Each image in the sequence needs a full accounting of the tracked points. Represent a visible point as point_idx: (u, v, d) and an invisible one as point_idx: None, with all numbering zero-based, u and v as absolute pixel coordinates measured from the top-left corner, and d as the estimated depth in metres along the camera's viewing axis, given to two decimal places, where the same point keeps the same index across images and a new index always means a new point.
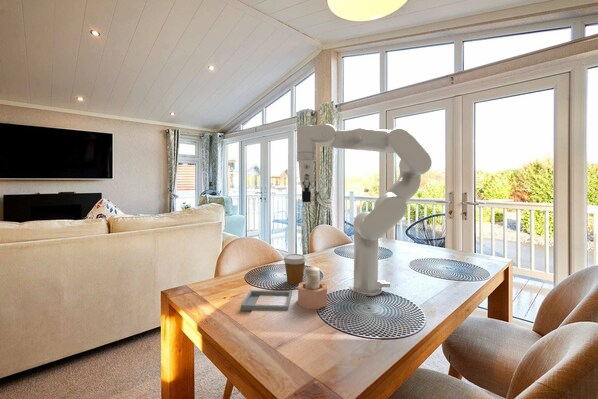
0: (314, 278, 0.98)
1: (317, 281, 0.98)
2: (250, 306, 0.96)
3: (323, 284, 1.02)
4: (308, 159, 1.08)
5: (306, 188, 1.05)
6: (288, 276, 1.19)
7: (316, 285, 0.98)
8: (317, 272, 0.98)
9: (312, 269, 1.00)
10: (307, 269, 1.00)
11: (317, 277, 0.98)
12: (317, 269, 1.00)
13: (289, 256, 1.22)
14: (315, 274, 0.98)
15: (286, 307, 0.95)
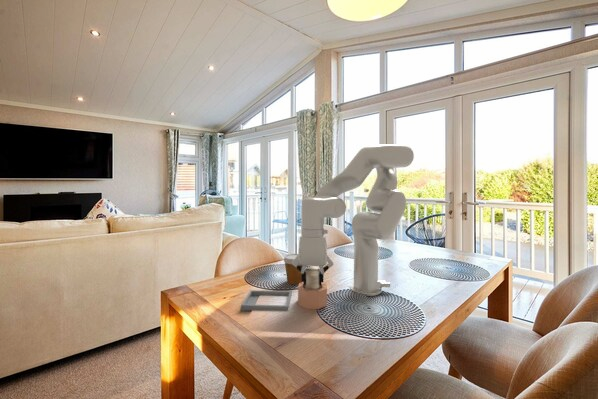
0: (314, 278, 0.98)
1: (317, 281, 0.98)
2: (250, 306, 0.96)
3: (323, 284, 1.02)
4: None
5: None
6: (288, 276, 1.19)
7: (316, 285, 0.98)
8: (317, 272, 0.98)
9: (312, 269, 1.00)
10: (307, 269, 1.00)
11: (317, 277, 0.98)
12: (317, 269, 1.00)
13: (289, 256, 1.22)
14: (315, 274, 0.98)
15: (286, 307, 0.95)
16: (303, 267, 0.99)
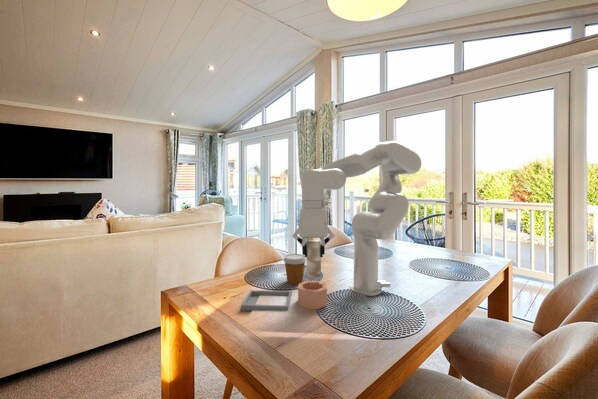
0: (315, 250, 0.97)
1: (318, 253, 0.98)
2: (250, 306, 0.96)
3: (323, 284, 1.02)
4: (323, 207, 0.99)
5: None
6: (288, 276, 1.19)
7: (317, 257, 0.98)
8: (318, 244, 0.98)
9: (313, 241, 0.99)
10: (308, 242, 0.99)
11: (318, 249, 0.98)
12: (318, 241, 0.99)
13: (289, 256, 1.22)
14: (316, 246, 0.97)
15: (286, 307, 0.95)
16: (304, 239, 0.98)
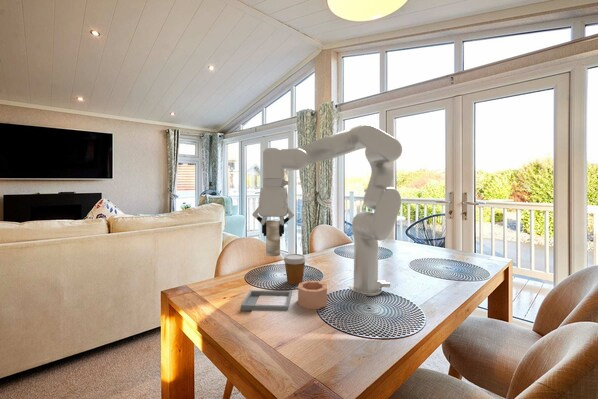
0: (274, 229, 0.97)
1: (277, 232, 0.98)
2: (250, 306, 0.96)
3: (323, 284, 1.02)
4: None
5: None
6: (288, 276, 1.19)
7: (276, 236, 0.98)
8: (277, 223, 0.98)
9: (273, 221, 0.99)
10: (268, 220, 0.99)
11: (277, 228, 0.98)
12: (278, 221, 0.99)
13: (289, 256, 1.22)
14: (275, 225, 0.97)
15: (286, 307, 0.95)
16: (263, 218, 0.98)
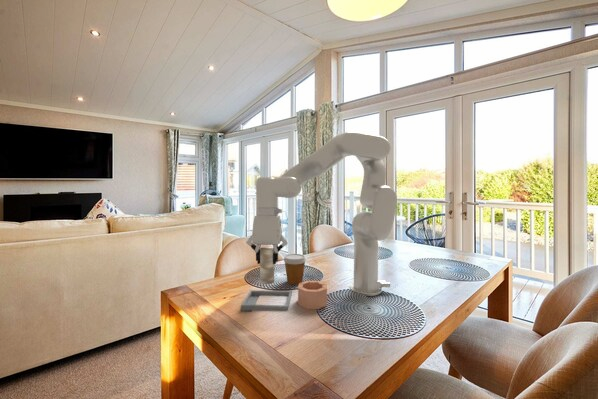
0: (267, 257, 0.98)
1: (271, 260, 0.99)
2: (250, 306, 0.96)
3: (323, 284, 1.02)
4: (277, 214, 1.00)
5: (280, 249, 1.00)
6: (288, 276, 1.19)
7: (269, 264, 0.99)
8: (271, 251, 0.99)
9: (266, 248, 1.00)
10: (261, 248, 1.00)
11: (271, 256, 0.99)
12: (271, 248, 1.00)
13: (289, 256, 1.22)
14: (268, 253, 0.98)
15: (286, 307, 0.95)
16: (257, 246, 0.99)
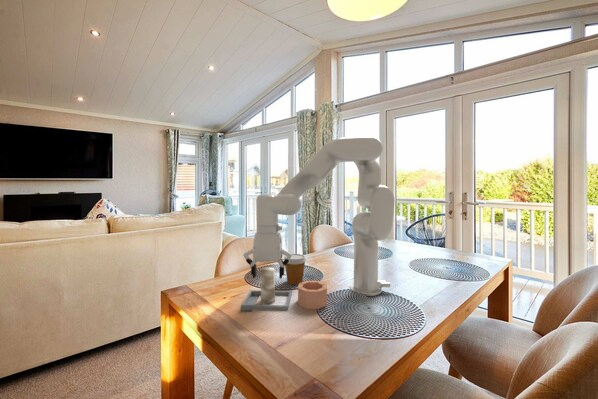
0: (268, 278, 0.99)
1: (271, 281, 1.00)
2: (250, 306, 0.96)
3: (323, 284, 1.02)
4: (277, 231, 1.01)
5: (286, 263, 1.00)
6: (288, 276, 1.19)
7: (270, 285, 0.99)
8: (271, 272, 0.99)
9: (267, 269, 1.01)
10: (262, 269, 1.01)
11: (271, 277, 0.99)
12: (272, 269, 1.01)
13: None
14: (269, 274, 0.99)
15: (286, 307, 0.95)
16: None
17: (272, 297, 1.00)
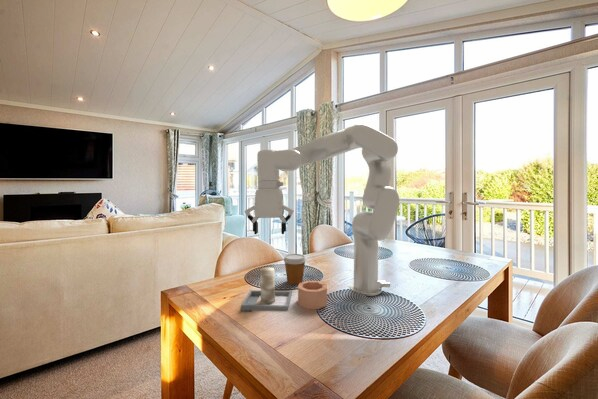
0: (268, 278, 0.99)
1: (271, 281, 1.00)
2: (250, 306, 0.96)
3: (323, 284, 1.02)
4: None
5: (288, 219, 1.00)
6: (288, 276, 1.19)
7: (270, 285, 0.99)
8: (271, 272, 0.99)
9: (267, 269, 1.01)
10: (262, 269, 1.01)
11: (271, 277, 1.00)
12: (272, 269, 1.01)
13: (289, 256, 1.22)
14: (269, 274, 0.99)
15: (286, 307, 0.95)
16: None
17: (272, 297, 1.00)
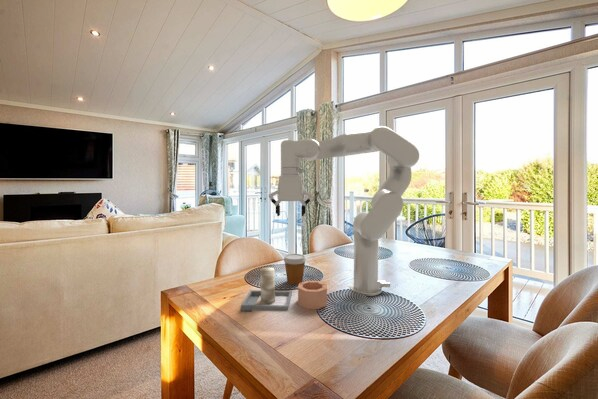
0: (268, 278, 0.99)
1: (271, 281, 1.00)
2: (250, 306, 0.96)
3: (323, 284, 1.02)
4: (299, 174, 1.12)
5: (308, 202, 1.11)
6: (288, 276, 1.19)
7: (270, 285, 0.99)
8: (271, 272, 0.99)
9: (267, 269, 1.01)
10: (262, 269, 1.01)
11: (271, 277, 0.99)
12: (272, 269, 1.01)
13: (289, 256, 1.22)
14: (269, 274, 0.99)
15: (286, 307, 0.95)
16: None
17: (272, 297, 1.00)
